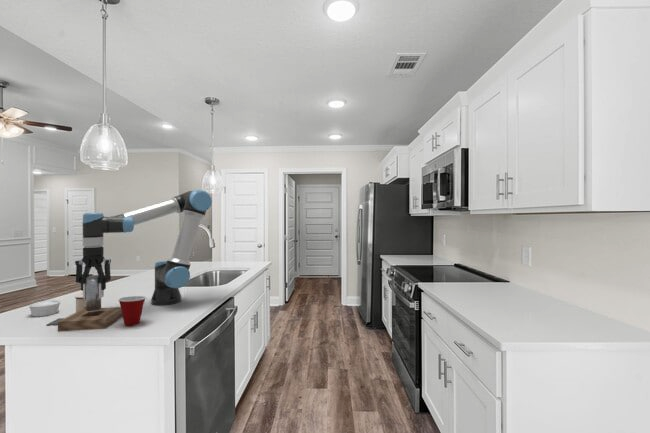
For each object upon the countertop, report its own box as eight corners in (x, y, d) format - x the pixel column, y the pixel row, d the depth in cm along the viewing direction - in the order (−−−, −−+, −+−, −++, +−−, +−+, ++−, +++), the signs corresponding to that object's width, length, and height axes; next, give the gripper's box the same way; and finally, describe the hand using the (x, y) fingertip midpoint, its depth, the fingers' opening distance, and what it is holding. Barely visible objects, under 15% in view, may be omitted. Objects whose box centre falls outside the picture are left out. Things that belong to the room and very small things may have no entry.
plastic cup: (151, 320, 143) (151, 294, 143) (135, 328, 132) (135, 300, 132) (129, 319, 144) (129, 293, 144) (112, 327, 133) (112, 300, 133)
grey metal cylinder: (103, 306, 143) (103, 274, 143) (97, 310, 137) (97, 277, 137) (90, 307, 142) (90, 275, 142) (83, 311, 136) (82, 277, 136)
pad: (77, 318, 145) (77, 317, 145) (67, 324, 137) (67, 323, 137) (58, 319, 143) (58, 318, 143) (46, 325, 135) (46, 324, 135)
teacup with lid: (85, 316, 148) (85, 292, 148) (70, 315, 149) (70, 291, 149) (107, 309, 159) (107, 286, 159) (93, 307, 161) (93, 285, 161)
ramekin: (65, 311, 155) (65, 301, 155) (40, 318, 145) (40, 307, 145) (49, 309, 158) (49, 299, 158) (23, 316, 148) (23, 305, 148)
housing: (124, 314, 150) (124, 306, 150) (105, 328, 133) (105, 319, 133) (82, 317, 147) (82, 308, 147) (57, 331, 129) (57, 321, 129)
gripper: (119, 245, 145) (120, 294, 145) (75, 246, 141) (75, 296, 141) (112, 247, 137) (112, 298, 138) (64, 247, 134) (65, 300, 134)
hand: (93, 297), depth 139 cm, fingers closed on grey metal cylinder, 6 cm apart
